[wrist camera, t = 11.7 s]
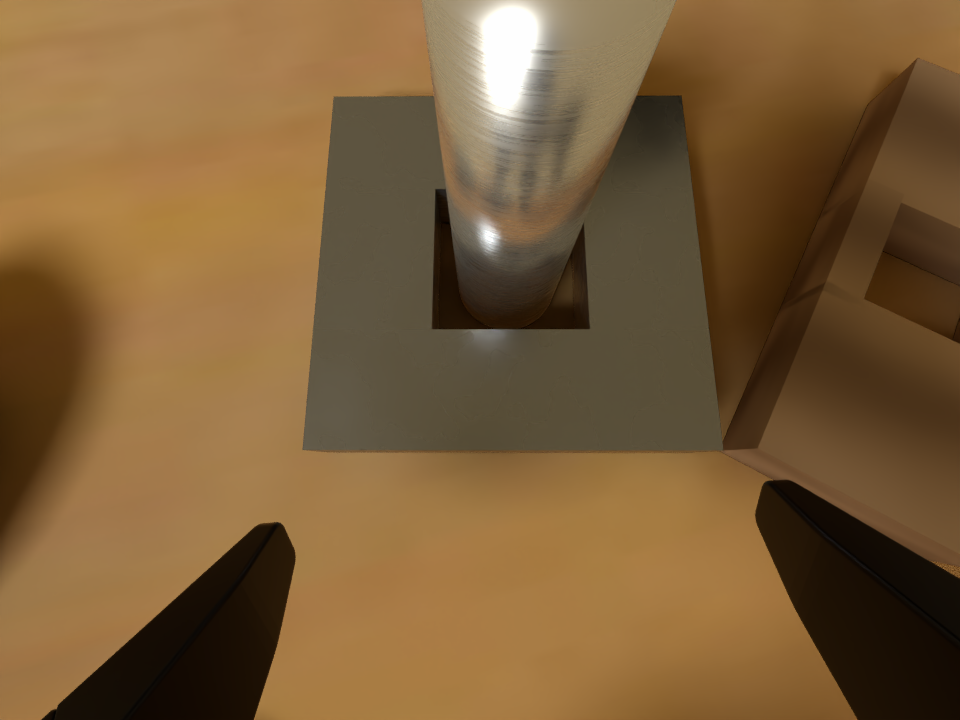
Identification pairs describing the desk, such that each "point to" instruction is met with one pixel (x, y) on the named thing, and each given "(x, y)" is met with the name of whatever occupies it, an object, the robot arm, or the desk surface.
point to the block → (507, 352)
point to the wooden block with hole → (872, 334)
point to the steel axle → (529, 132)
